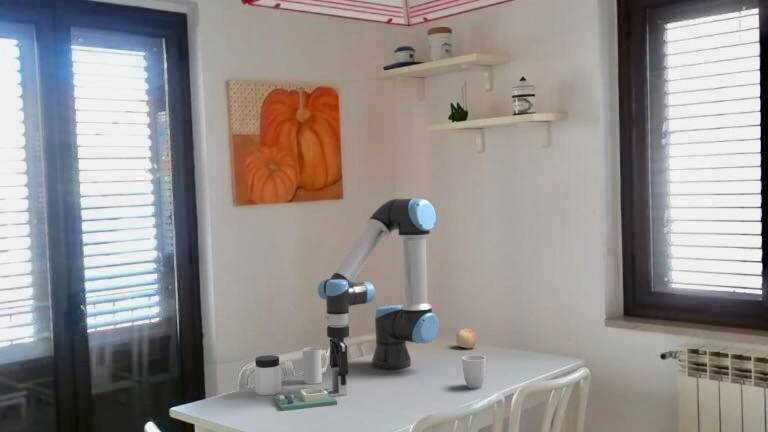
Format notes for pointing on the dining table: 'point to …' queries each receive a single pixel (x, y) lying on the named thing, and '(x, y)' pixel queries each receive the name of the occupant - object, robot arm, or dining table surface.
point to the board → (305, 399)
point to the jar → (267, 375)
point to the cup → (474, 370)
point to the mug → (313, 364)
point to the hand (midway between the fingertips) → (339, 390)
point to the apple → (466, 338)
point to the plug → (335, 380)
